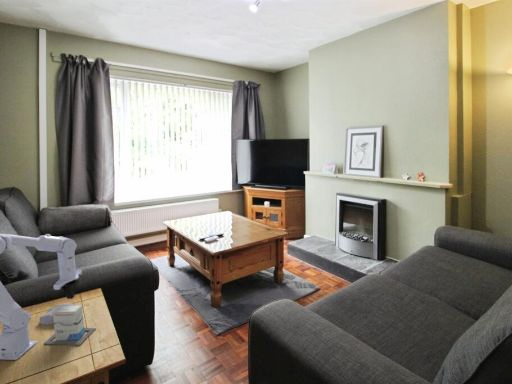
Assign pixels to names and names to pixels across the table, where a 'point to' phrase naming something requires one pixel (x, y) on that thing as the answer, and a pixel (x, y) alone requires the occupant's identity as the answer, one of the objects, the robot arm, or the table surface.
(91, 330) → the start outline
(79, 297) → the table surface
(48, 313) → the stone block
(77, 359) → the table surface
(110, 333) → the table surface
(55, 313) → the ink box
